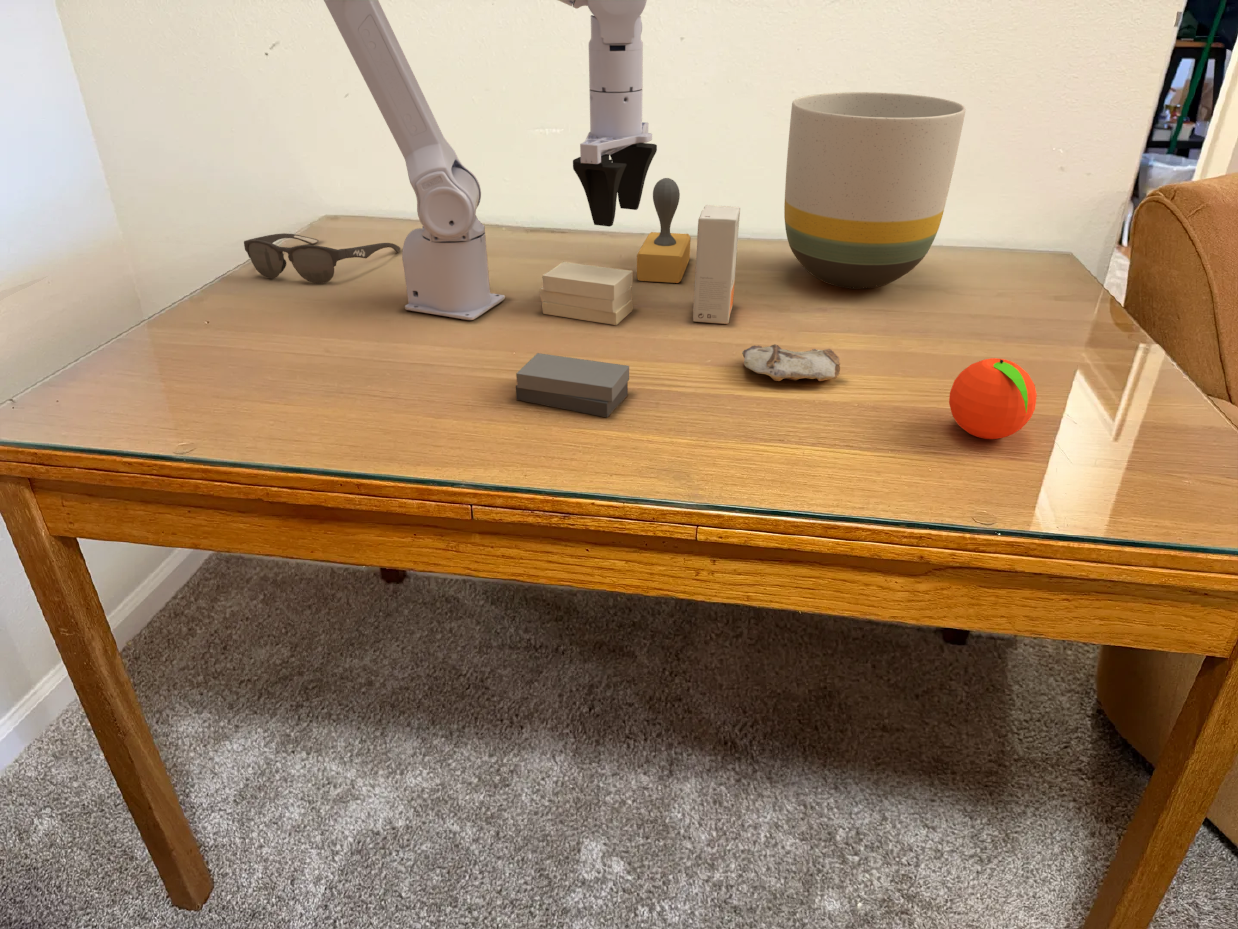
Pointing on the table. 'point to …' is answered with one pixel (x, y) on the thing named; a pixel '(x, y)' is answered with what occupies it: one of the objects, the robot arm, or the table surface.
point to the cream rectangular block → (587, 280)
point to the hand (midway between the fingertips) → (616, 216)
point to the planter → (867, 182)
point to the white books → (587, 306)
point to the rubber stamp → (664, 240)
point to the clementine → (992, 398)
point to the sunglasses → (303, 256)
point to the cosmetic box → (715, 263)
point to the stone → (792, 363)
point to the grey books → (573, 384)
